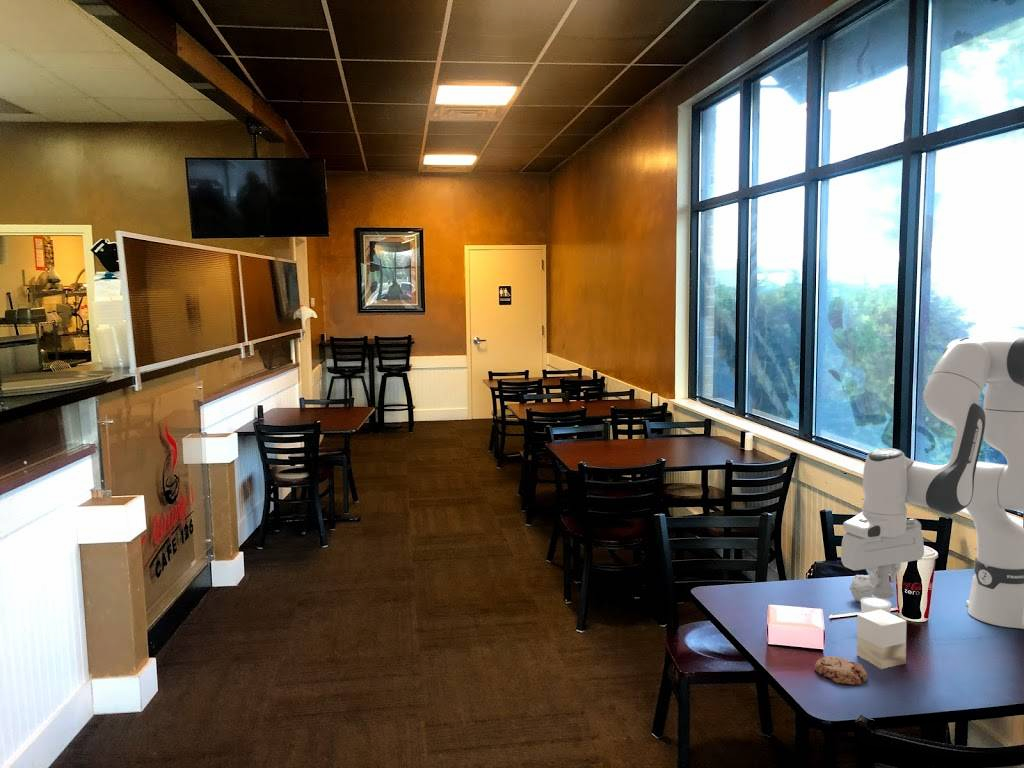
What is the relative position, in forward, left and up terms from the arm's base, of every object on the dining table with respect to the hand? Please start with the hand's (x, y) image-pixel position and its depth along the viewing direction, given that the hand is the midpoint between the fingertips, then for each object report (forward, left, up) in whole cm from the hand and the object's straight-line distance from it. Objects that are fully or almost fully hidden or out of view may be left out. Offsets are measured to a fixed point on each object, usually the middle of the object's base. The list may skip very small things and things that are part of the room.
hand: (882, 583), depth 169 cm
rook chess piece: (0, 0, -3) cm, 3 cm away
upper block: (0, 0, -13) cm, 13 cm away
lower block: (0, 0, -18) cm, 18 cm away
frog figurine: (-21, -28, -18) cm, 39 cm away
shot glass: (-11, -13, -18) cm, 25 cm away
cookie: (+13, +2, -18) cm, 23 cm away
